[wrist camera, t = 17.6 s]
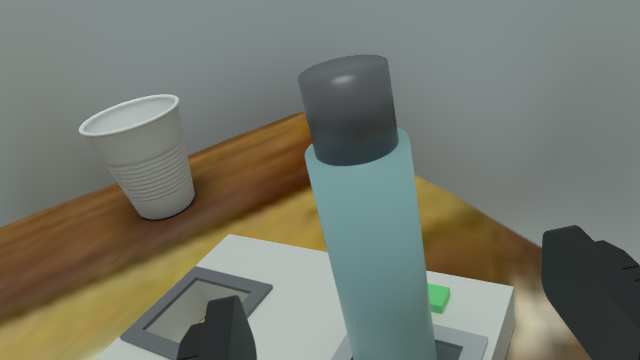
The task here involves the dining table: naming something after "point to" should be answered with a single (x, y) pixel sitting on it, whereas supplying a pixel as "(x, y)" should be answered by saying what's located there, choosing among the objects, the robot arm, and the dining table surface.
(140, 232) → the dining table surface
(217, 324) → the robot arm
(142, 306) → the dining table surface
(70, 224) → the dining table surface
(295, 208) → the dining table surface
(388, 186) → the plug
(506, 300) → the panel
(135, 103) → the cup
